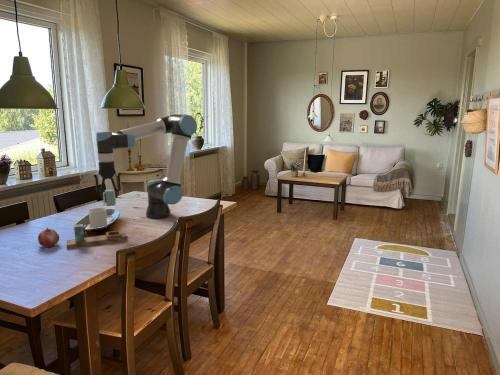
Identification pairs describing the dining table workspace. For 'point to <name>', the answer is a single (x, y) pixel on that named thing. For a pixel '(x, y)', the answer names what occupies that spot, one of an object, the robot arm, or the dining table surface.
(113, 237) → the rail
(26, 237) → the dining table surface
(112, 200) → the teal rectangular block
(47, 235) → the fruit
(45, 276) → the dining table surface
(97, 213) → the grey rounded block
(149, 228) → the dining table surface
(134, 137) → the robot arm
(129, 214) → the dining table surface
